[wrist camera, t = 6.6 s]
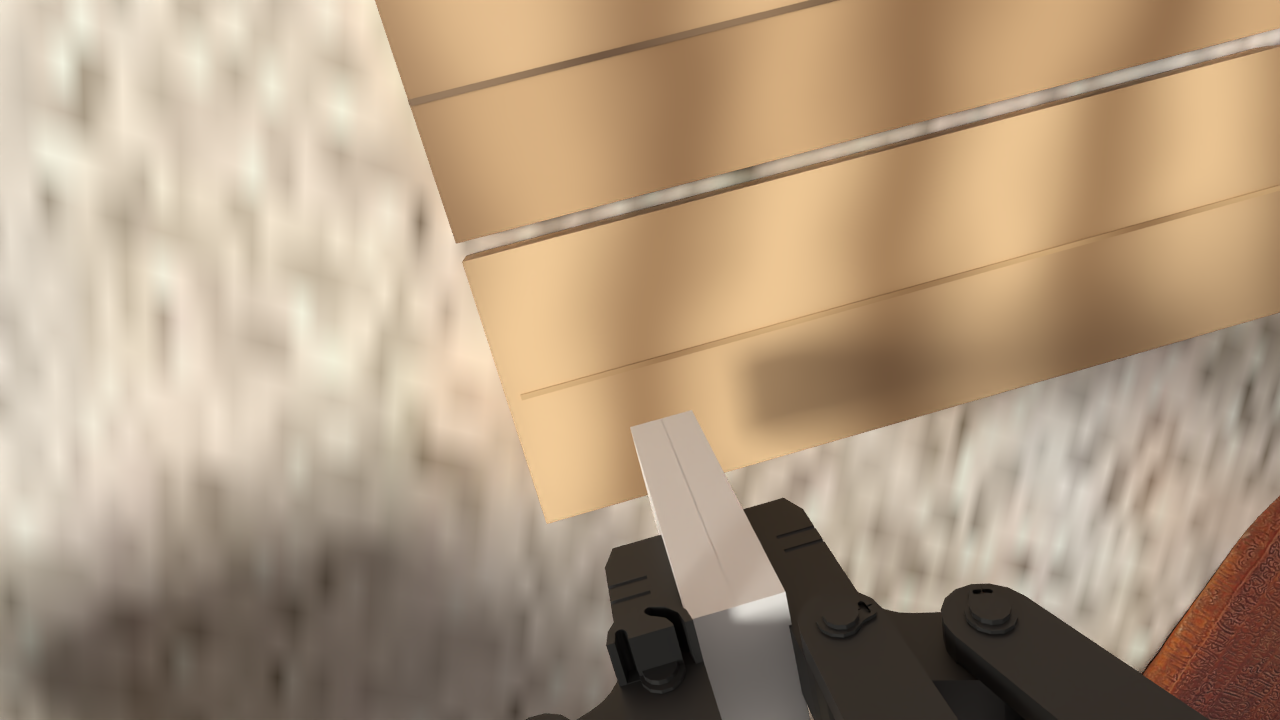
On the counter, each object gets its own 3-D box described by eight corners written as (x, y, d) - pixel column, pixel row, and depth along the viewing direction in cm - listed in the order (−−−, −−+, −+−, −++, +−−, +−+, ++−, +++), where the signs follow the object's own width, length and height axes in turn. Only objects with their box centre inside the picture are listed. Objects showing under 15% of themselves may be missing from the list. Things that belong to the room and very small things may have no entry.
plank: (1255, 48, 21) (1298, 42, 20) (1248, 303, 24) (1287, 311, 22) (466, 255, 20) (462, 262, 18) (546, 504, 22) (547, 524, 21)
